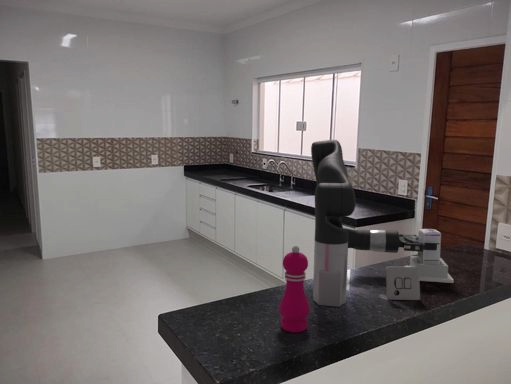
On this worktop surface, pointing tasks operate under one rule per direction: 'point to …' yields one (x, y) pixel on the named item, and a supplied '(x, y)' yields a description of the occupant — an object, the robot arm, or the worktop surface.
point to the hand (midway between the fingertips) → (433, 243)
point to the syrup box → (429, 255)
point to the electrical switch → (402, 283)
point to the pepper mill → (294, 292)
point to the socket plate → (432, 271)
